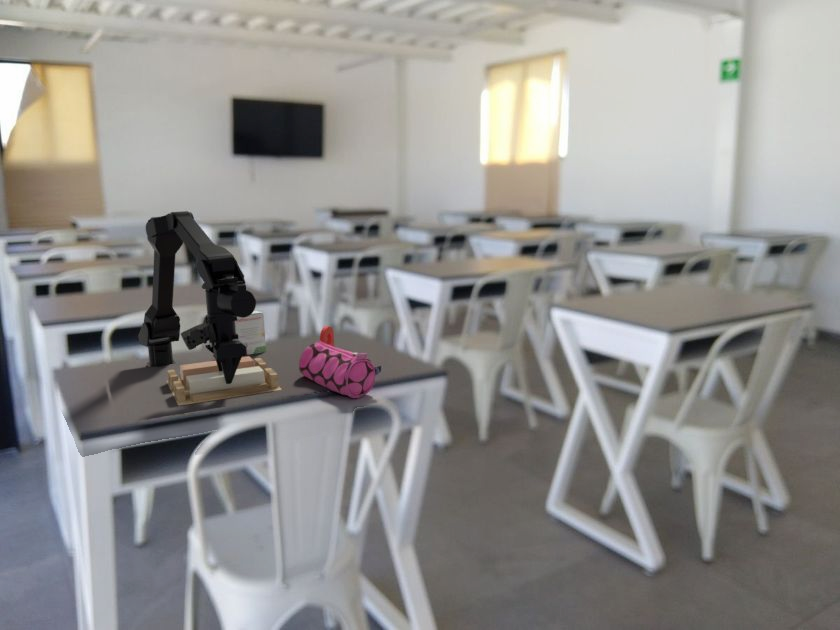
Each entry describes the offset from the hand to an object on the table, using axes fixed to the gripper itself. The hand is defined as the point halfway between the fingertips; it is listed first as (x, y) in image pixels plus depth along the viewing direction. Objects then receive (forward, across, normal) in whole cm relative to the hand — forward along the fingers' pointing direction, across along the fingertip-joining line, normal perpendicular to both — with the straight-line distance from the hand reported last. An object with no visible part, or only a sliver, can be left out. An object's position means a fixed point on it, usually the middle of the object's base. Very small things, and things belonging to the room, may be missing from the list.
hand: (226, 380), depth 155 cm
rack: (+4, -5, 0) cm, 6 cm away
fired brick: (+2, -10, 0) cm, 10 cm away
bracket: (+4, -21, +28) cm, 35 cm away
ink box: (+4, -32, +12) cm, 34 cm away
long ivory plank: (+2, 0, 0) cm, 3 cm away
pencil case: (+4, +7, +24) cm, 25 cm away
